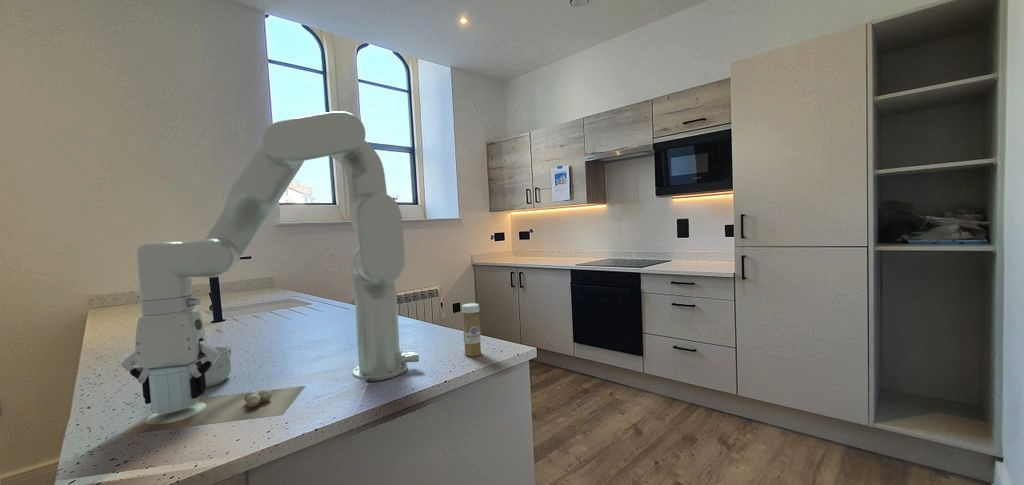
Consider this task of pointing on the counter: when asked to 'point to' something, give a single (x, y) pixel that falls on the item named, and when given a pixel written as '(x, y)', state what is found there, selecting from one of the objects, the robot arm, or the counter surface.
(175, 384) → the blue cup
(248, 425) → the counter surface
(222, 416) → the brown board
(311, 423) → the counter surface
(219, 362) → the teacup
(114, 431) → the counter surface
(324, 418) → the counter surface
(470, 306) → the sprinkles bottle
